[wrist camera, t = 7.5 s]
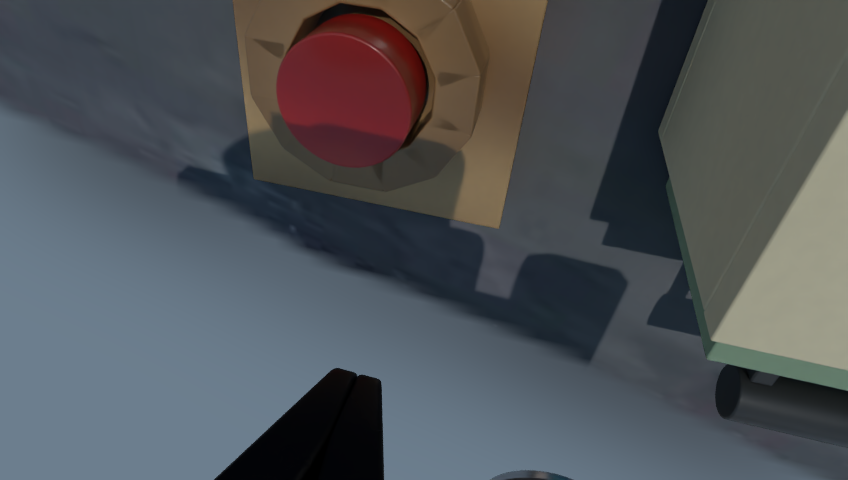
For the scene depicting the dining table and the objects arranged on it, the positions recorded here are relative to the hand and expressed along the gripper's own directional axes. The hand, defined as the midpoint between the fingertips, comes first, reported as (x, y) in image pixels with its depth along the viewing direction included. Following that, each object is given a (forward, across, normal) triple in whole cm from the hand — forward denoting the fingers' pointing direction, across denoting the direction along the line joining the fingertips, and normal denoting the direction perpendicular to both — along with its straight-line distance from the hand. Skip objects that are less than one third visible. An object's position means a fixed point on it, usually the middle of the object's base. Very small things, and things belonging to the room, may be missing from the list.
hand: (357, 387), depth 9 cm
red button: (+8, +3, -2) cm, 9 cm away
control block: (+12, +3, -2) cm, 12 cm away
